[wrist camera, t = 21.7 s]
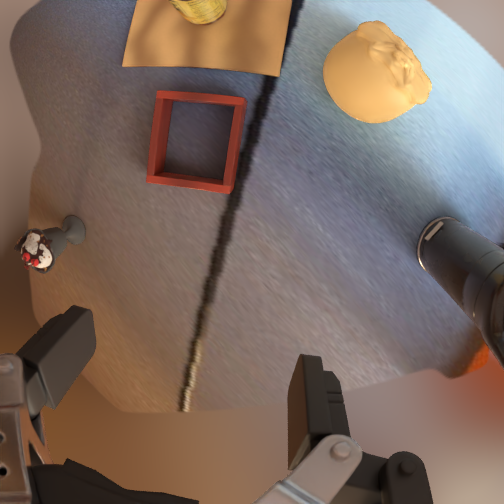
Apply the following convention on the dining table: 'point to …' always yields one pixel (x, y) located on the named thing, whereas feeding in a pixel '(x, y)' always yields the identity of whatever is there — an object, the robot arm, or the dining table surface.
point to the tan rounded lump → (374, 74)
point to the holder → (161, 137)
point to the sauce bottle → (200, 10)
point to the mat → (210, 37)
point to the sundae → (49, 243)
